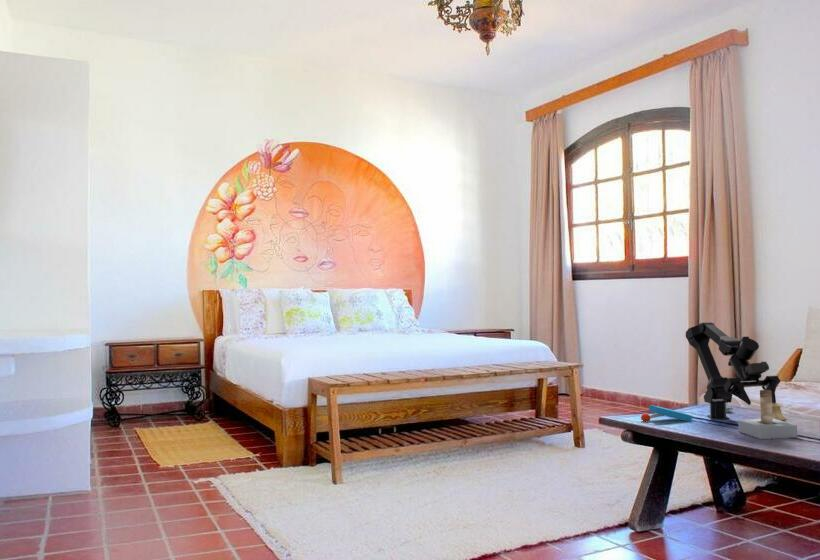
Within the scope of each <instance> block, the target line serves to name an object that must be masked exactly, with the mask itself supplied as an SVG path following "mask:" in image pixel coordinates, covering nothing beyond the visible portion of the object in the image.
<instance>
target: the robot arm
mask: <svg viewBox="0 0 820 560" xmlns="http://www.w3.org/2000/svg"><path fill="white" fill-rule="evenodd" d="M685 338H686V340H687V342H688V343H689V345H690V346H691V347H693V348H694V349H695V350H696V352H697V354H698V358H699V361H700V363H701V364H702V368H703V369H704V373H705V375H706V377H707V383H706V389H707V390H706V391H705V393H704V395H703V400H704V403H707V404H709V414H707V417H708V418H710V419H711V420H730V417H729V416H727V412H726V402H728V404H729V403H732V399H733V396H734V397H737V398H738V399H740V400H741V401H743V402H744V403H745V404H746V405H748V406H749V405H751V404H752V402H751V399H750V397H749V395H748V393H747V392H746V390H745V387H747V388H749V387H750V388H754V387H761V388H762V390H770V391H772V402H773V403H774V404H775V403H777V398H776V391H775V389H777V388H778V386H779V385H780V382H781V379H780V378H779V377H780V376H778V375H766V376H765V378H764V379H761V378H762V374H764V373H766V372H767V371H769V370H770V367H769V366H770V365H769V364H768V362H767V361H761V362H754V363H753V362H752V363H750V360H752V359H753V357H754V356H755V355H756V353H757V351H758V349H759V348H760V345H759V343H758V342H757V341H756V340H754V339H752V338H750V337H749V336H747V335H746V336H742V338H741V339H738V338H736V337H733V336H729V335H727V334H726V333H725V332H723V331H722V330H721V329H720V328H718V327H717V326H716V325H715V323H714V322H712V321H710V322H709V321H708V322H707V321H706V322H705V321H704V322H699V324H697V325H695V326H692V327H689V328H688V329H687V330H686V331H685ZM710 340H711V341H713V342H714V343H715V344H717V346H718V350H719V352H720V353H721V354H722V355H723V356H724V357H725V356H726V357H727V356H728V357H729V356H731V357H730V358H729V360H728V362H727V365H728V367H732V368H733V370H734V371H735V375H734V376H735V377H733V376H732V377H725V376H724V377H723V376H722V375H721V373H720V370H719V368H718V365H717V363H716V361H715V358H714V355H713V353H712V351H711V348H710V346H709V343H710ZM760 379H761V380H760Z"/></svg>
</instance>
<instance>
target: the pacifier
mask: <svg viewBox="0 0 820 560" xmlns="http://www.w3.org/2000/svg"><path fill="white" fill-rule="evenodd" d="M728 404H729V402H726V413H729V412H730V411H732V410H733V409H734V408H733V407H730V406H728Z"/></svg>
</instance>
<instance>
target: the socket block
mask: <svg viewBox="0 0 820 560" xmlns="http://www.w3.org/2000/svg"><path fill="white" fill-rule="evenodd" d="M737 424H738V432H739V433H743V434H745V435H748V436H751V437H755V438H756V437H757V438H756V439H760V440H769V439H770V440H771V438H773V439H787V438H798V424H794V423H791V422H787V421H785V420H777V419H774V418H773V424H762V423H761V418H757V419H756V418H751V419H739V420H738V423H737Z"/></svg>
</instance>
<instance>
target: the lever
mask: <svg viewBox="0 0 820 560" xmlns="http://www.w3.org/2000/svg"><path fill="white" fill-rule="evenodd" d="M648 411H649V412H652V413H654V414H651V415H650V414H649V413H643V414H641V416H640V420H641V421H642V420H643V421H649V422H650V420H651V419H654V418H659V417H669V418H673V419H677V420H682V421H685V422H692V420H693V415H690V414H688V413H685V412H682V411H678V410H674V409H671V408H667V407H661V406H658V405H653V404H649V408H648ZM643 421H642V422H643Z"/></svg>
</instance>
